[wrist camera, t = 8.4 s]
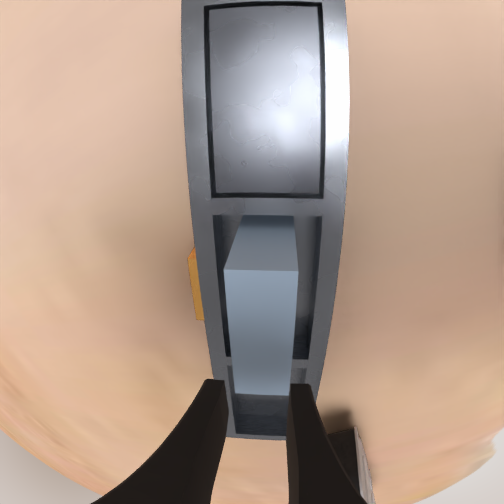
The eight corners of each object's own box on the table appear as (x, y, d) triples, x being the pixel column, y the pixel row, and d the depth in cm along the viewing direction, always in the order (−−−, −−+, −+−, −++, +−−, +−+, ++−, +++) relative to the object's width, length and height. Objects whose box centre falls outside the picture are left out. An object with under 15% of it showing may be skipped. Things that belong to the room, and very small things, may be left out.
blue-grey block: (293, 213, 16) (298, 271, 11) (288, 320, 19) (288, 395, 14) (243, 213, 16) (223, 269, 11) (247, 318, 19) (235, 393, 14)
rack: (333, 9, 11) (343, -10, 9) (306, 413, 25) (306, 440, 22) (187, 14, 12) (168, -3, 9) (223, 409, 25) (218, 436, 23)
